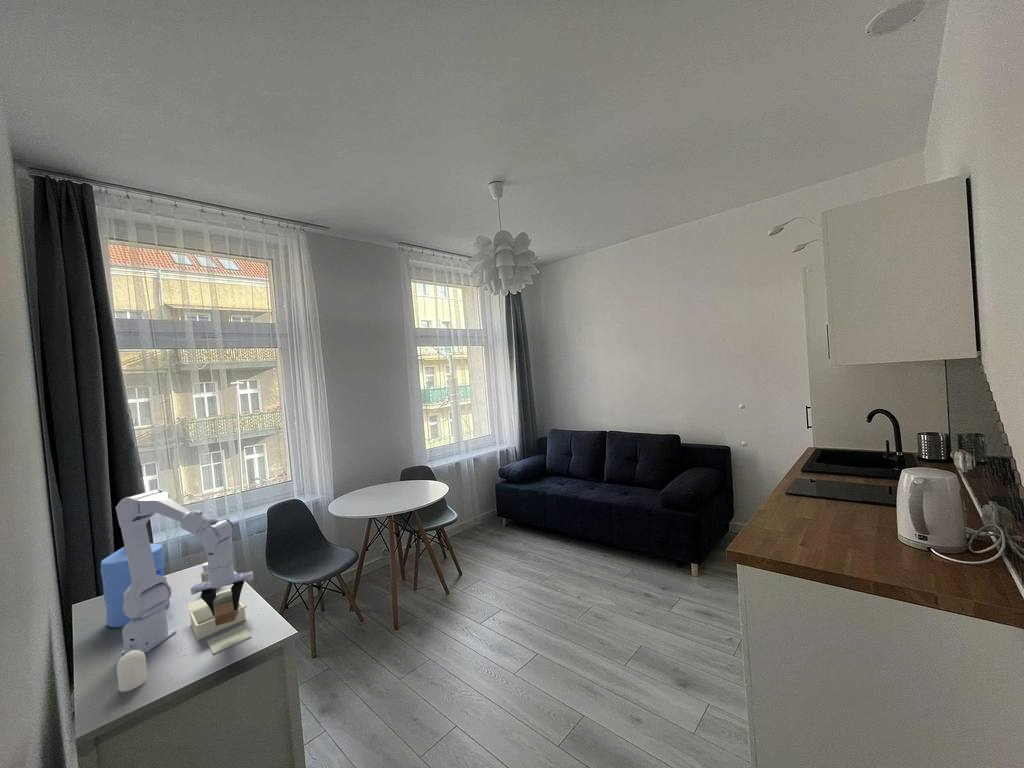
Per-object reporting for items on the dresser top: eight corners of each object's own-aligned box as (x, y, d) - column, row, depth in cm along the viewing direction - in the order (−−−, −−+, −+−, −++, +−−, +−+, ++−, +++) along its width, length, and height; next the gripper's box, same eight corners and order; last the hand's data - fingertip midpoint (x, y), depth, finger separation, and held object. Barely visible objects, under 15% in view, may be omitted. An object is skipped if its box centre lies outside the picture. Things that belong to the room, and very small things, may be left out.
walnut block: (234, 620, 115) (231, 596, 115) (215, 625, 113) (212, 601, 113) (238, 612, 119) (235, 589, 119) (220, 617, 117) (217, 594, 117)
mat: (251, 637, 116) (251, 635, 116) (213, 654, 109) (213, 653, 109) (243, 626, 122) (243, 624, 122) (207, 642, 116) (206, 640, 116)
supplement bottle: (218, 583, 154) (215, 558, 154) (223, 587, 150) (220, 561, 150) (201, 590, 149) (198, 564, 149) (205, 594, 146) (202, 567, 146)
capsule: (122, 682, 102) (119, 651, 102) (150, 672, 105) (146, 642, 105) (115, 695, 97) (111, 662, 97) (144, 684, 100) (141, 653, 100)
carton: (248, 623, 123) (246, 605, 123) (200, 645, 115) (197, 625, 115) (234, 603, 137) (232, 587, 137) (189, 621, 128) (187, 603, 128)
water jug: (111, 634, 125) (101, 545, 125) (103, 620, 135) (93, 537, 134) (175, 608, 138) (166, 527, 137) (163, 597, 147) (154, 521, 147)
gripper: (253, 552, 122) (258, 597, 122) (194, 565, 117) (200, 612, 117) (248, 561, 116) (253, 608, 116) (185, 575, 110) (191, 624, 110)
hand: (226, 611), depth 116 cm, fingers closed on walnut block, 4 cm apart
